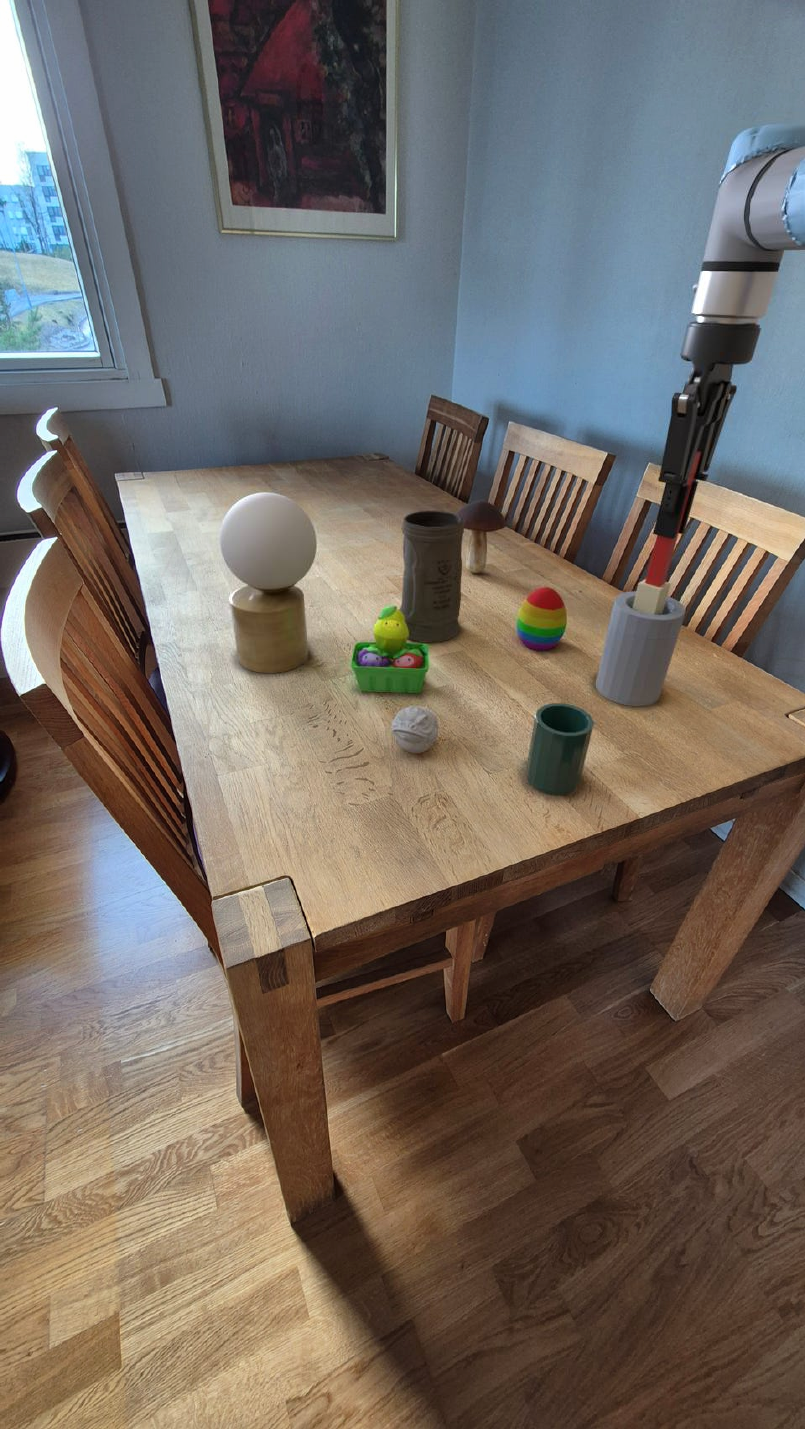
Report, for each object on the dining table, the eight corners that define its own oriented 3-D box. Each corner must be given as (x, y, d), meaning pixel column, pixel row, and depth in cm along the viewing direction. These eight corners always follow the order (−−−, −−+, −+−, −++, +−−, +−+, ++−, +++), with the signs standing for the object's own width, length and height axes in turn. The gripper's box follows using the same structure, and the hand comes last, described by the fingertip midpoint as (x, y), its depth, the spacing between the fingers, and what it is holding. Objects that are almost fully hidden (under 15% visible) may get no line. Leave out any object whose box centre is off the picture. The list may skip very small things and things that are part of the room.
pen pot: (589, 777, 78) (603, 718, 73) (561, 803, 74) (574, 743, 69) (544, 754, 82) (555, 696, 77) (515, 777, 78) (524, 718, 73)
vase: (670, 689, 96) (696, 604, 88) (642, 714, 90) (667, 626, 82) (613, 667, 101) (633, 585, 93) (584, 689, 95) (602, 604, 87)
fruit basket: (350, 696, 92) (348, 627, 86) (356, 665, 100) (355, 600, 93) (427, 699, 92) (431, 630, 86) (428, 668, 99) (431, 602, 93)
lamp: (260, 624, 111) (242, 477, 96) (335, 635, 108) (328, 486, 93) (216, 665, 99) (189, 505, 84) (299, 679, 96) (285, 516, 81)
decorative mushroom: (510, 571, 133) (518, 500, 125) (481, 587, 126) (489, 512, 117) (467, 559, 139) (473, 490, 130) (438, 573, 132) (442, 501, 123)
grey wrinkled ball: (382, 760, 80) (383, 715, 76) (401, 730, 85) (402, 687, 81) (428, 771, 78) (430, 726, 74) (444, 740, 84) (447, 696, 80)
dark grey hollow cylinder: (474, 634, 109) (479, 517, 99) (424, 650, 104) (424, 529, 93) (422, 608, 120) (422, 500, 109) (375, 621, 115) (370, 509, 104)
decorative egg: (507, 647, 106) (514, 591, 100) (522, 627, 112) (530, 574, 106) (554, 658, 103) (565, 602, 97) (567, 638, 109) (578, 584, 103)
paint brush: (661, 616, 89) (708, 451, 76) (651, 623, 87) (697, 455, 74) (640, 609, 90) (682, 447, 78) (630, 616, 88) (671, 451, 76)
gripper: (716, 317, 75) (665, 514, 88) (662, 320, 66) (614, 539, 79) (783, 320, 71) (719, 527, 84) (735, 324, 61) (671, 555, 75)
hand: (668, 533), depth 82 cm, fingers closed on paint brush, 2 cm apart
